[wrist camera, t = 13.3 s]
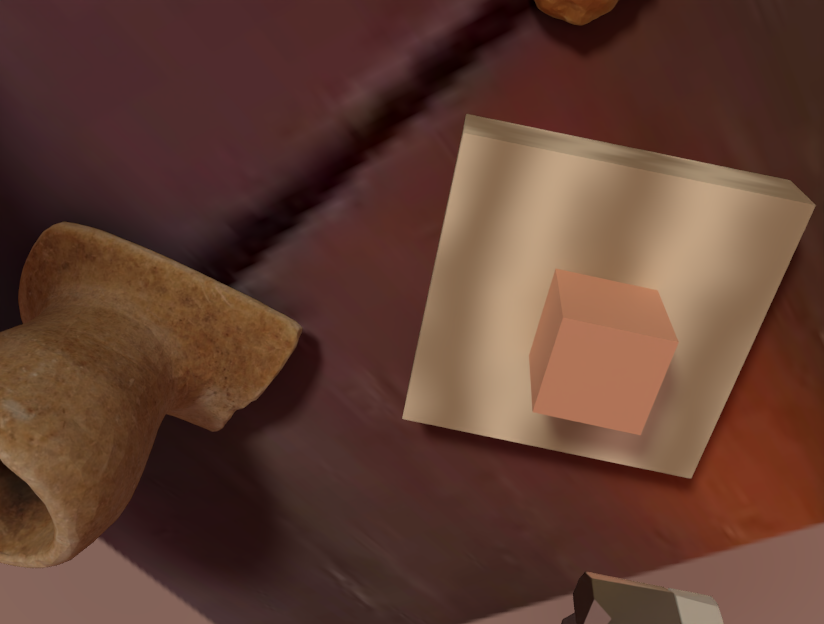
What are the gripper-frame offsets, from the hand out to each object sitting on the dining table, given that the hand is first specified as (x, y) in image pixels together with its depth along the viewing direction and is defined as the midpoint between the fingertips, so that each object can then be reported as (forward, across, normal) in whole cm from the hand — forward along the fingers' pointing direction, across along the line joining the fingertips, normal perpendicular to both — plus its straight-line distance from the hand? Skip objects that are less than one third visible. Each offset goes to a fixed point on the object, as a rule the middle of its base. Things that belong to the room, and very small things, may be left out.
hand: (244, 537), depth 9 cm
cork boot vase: (+31, +13, +18) cm, 38 cm away
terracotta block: (+28, -10, +10) cm, 31 cm away
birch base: (+32, -10, +10) cm, 35 cm away
